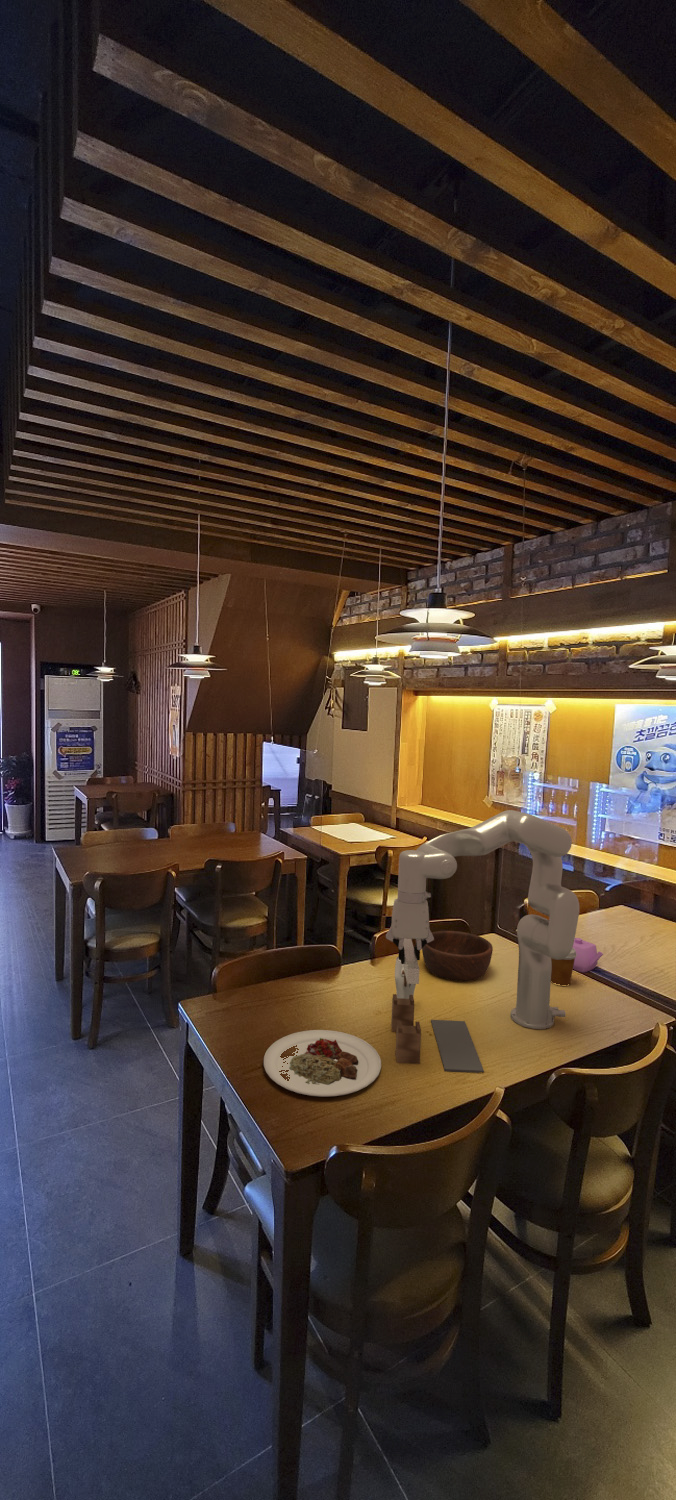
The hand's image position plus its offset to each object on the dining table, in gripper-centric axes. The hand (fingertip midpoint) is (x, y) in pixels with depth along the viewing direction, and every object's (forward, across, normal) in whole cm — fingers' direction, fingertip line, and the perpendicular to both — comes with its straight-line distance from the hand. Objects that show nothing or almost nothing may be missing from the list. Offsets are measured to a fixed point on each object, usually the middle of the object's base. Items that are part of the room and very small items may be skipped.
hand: (408, 961), depth 172 cm
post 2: (+23, 0, +8) cm, 24 cm away
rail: (+1, 0, 0) cm, 1 cm away
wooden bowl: (+24, -23, -52) cm, 61 cm away
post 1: (+23, 0, -8) cm, 24 cm away
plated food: (+23, +23, +13) cm, 35 cm away
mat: (+23, -14, 0) cm, 27 cm away
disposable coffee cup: (+24, -58, -45) cm, 77 cm away
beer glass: (+23, -2, -22) cm, 32 cm away
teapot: (+24, -70, -61) cm, 96 cm away
